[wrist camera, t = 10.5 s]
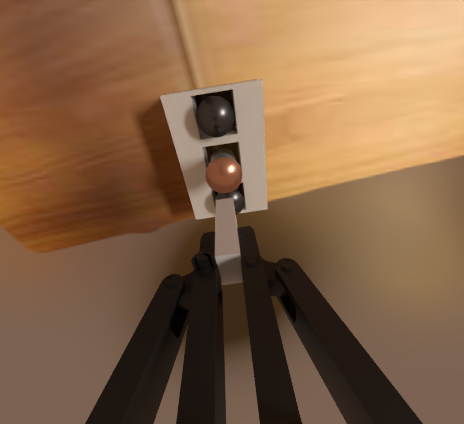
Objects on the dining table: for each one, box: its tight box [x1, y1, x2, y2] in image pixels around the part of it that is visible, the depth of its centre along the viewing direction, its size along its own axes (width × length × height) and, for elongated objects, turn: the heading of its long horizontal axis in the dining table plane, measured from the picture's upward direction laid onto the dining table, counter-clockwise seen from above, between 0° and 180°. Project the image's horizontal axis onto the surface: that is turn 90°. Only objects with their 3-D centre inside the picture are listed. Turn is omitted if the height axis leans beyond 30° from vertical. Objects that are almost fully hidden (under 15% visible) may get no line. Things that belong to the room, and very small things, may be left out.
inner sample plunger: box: [196, 96, 234, 138], centre depth 26 cm, size 4×4×6 cm
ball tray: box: [160, 79, 268, 219], centre depth 30 cm, size 18×12×5 cm, turn 8°
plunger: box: [215, 187, 244, 215], centre depth 32 cm, size 4×4×6 cm
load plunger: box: [206, 148, 242, 193], centre depth 26 cm, size 4×4×6 cm
